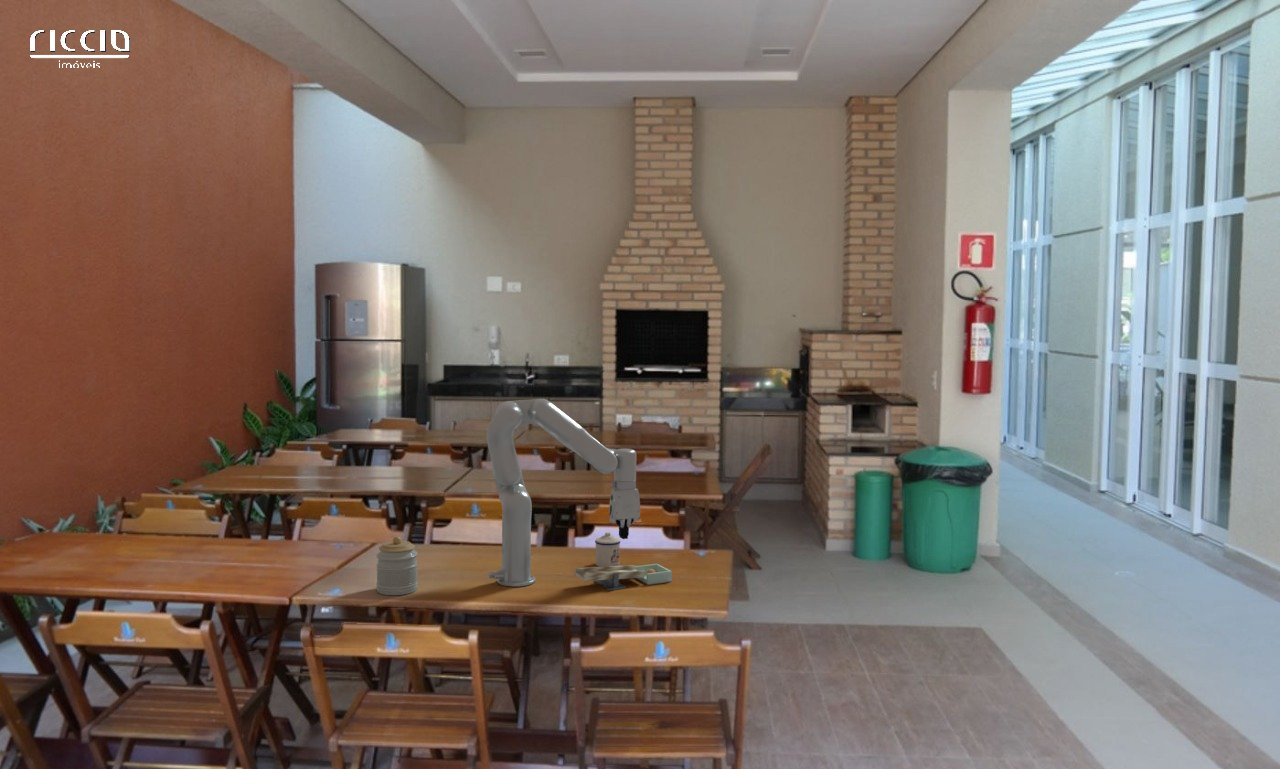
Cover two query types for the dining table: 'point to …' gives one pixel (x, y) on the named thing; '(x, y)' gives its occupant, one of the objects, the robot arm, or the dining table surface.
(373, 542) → the dining table surface
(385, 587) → the jar
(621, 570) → the lever
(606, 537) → the teacup with lid
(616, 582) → the fulcrum
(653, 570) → the ball
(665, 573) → the tray
